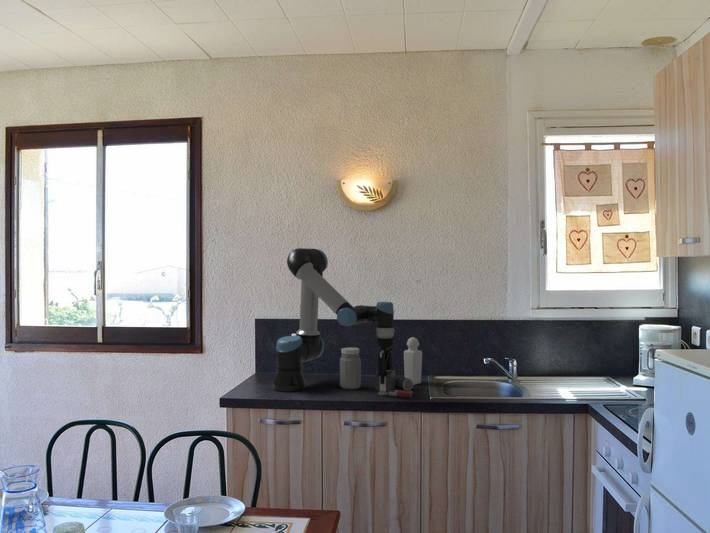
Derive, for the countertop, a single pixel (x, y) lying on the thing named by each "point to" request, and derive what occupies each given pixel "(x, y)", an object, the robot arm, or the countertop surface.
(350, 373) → the jar
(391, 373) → the speaker cube
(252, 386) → the countertop surface
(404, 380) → the flashlight
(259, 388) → the countertop surface
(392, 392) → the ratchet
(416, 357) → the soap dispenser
